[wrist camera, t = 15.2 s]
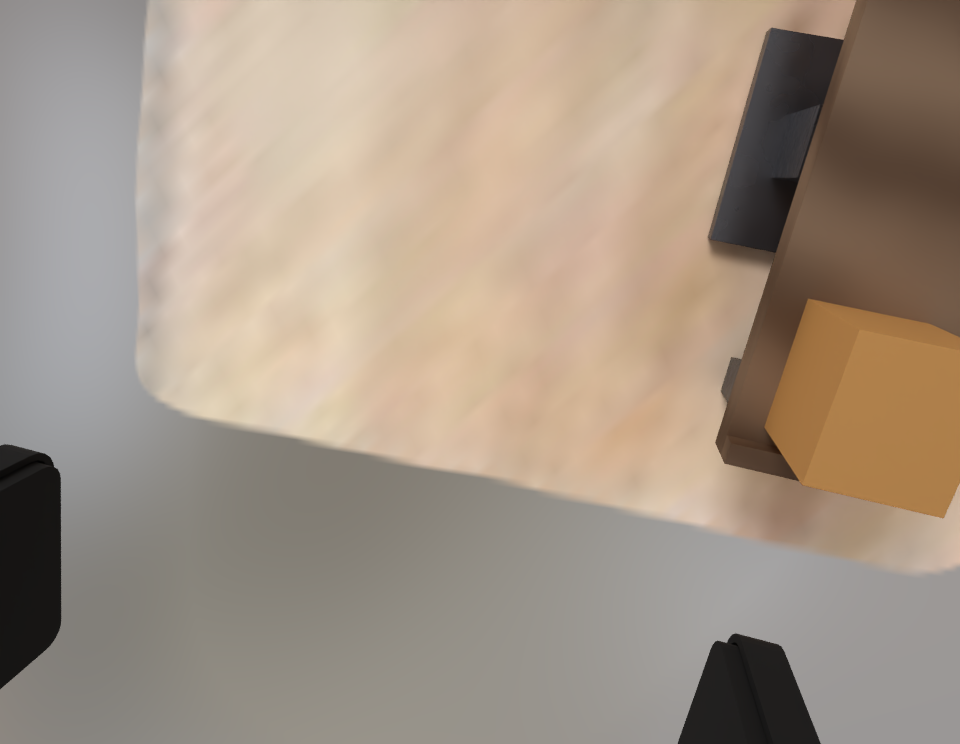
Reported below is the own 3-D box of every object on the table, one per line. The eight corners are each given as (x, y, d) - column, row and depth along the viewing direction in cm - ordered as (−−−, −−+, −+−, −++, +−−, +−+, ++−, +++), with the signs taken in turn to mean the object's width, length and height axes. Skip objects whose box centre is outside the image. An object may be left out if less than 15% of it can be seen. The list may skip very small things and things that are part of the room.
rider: (808, 298, 29) (859, 329, 23) (930, 324, 28) (1013, 361, 23) (764, 427, 31) (802, 485, 25) (878, 453, 30) (943, 518, 24)
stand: (766, 32, 33) (799, 3, 27) (1027, 76, 32) (1116, 55, 26) (667, 378, 38) (679, 412, 33) (886, 428, 37) (936, 471, 32)
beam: (941, -267, 24) (979, -315, 22) (1182, -238, 23) (1249, -284, 21) (715, 442, 33) (724, 463, 30) (886, 482, 32) (909, 506, 30)
